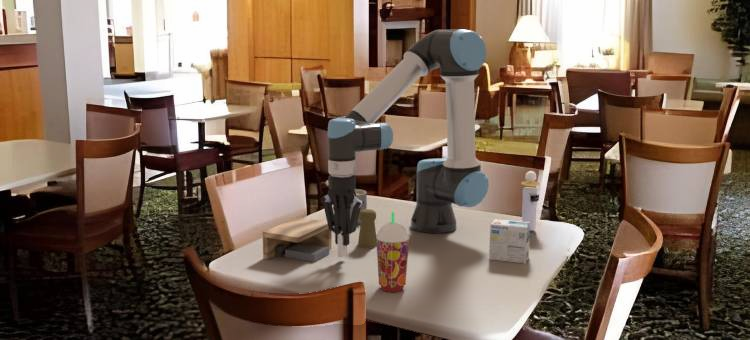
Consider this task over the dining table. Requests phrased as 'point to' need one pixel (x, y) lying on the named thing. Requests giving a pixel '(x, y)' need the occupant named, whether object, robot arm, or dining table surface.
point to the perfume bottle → (530, 199)
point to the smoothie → (392, 256)
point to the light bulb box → (509, 241)
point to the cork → (367, 229)
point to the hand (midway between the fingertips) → (342, 255)
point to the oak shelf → (295, 236)
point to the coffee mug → (361, 196)
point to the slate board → (307, 252)
